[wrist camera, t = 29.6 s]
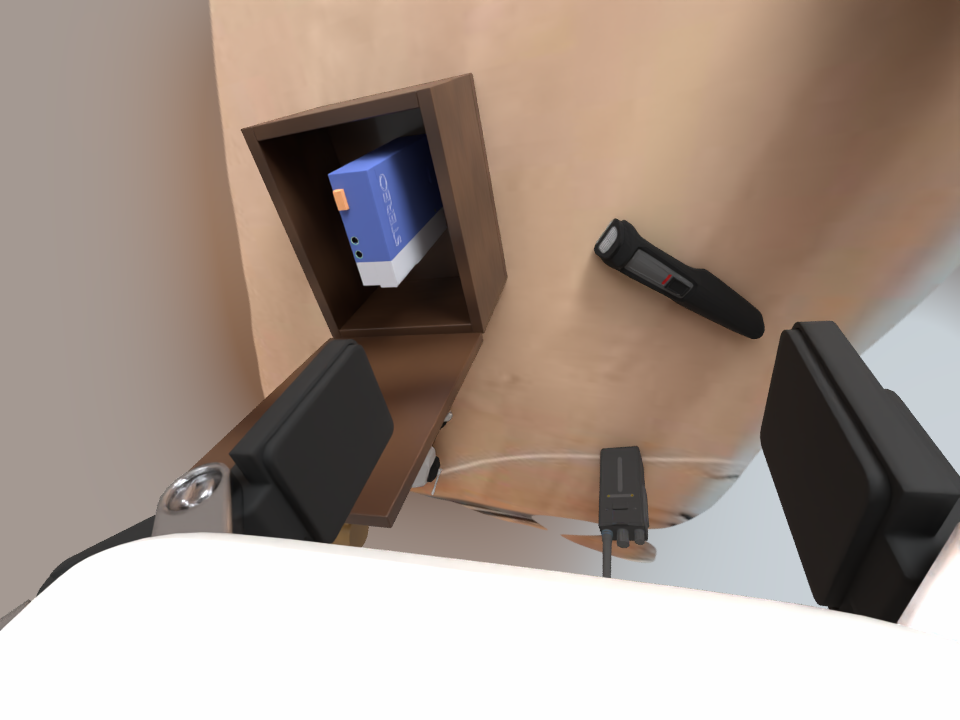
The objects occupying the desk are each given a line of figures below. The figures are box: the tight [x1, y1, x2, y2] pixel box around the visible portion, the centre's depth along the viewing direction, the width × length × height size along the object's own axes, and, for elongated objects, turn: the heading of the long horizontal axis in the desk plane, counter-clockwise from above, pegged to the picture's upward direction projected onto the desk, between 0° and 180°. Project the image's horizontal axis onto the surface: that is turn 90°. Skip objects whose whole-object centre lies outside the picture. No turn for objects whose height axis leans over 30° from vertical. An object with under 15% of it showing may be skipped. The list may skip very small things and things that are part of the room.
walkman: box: [328, 134, 447, 287], centre depth 34 cm, size 8×3×12 cm, turn 8°
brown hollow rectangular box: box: [241, 73, 507, 338], centre depth 36 cm, size 17×14×10 cm
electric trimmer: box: [594, 219, 765, 339], centre depth 38 cm, size 4×16×3 cm, turn 63°
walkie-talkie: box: [599, 446, 649, 578], centre depth 45 cm, size 5×3×20 cm
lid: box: [189, 333, 483, 547], centre depth 31 cm, size 18×14×5 cm
